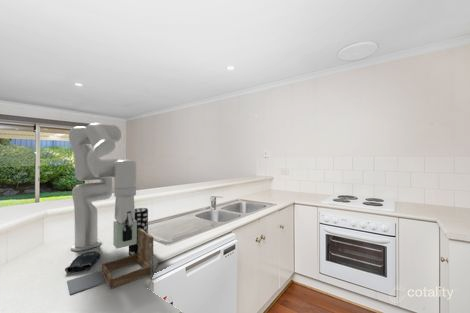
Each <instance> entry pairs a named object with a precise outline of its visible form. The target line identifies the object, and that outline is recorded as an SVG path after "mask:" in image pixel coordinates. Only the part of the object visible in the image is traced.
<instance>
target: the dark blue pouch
mask: <svg viewBox="0 0 470 313" xmlns="http://www.w3.org/2000/svg"><path fill="white" fill-rule="evenodd" d="M101 255H102V253H101V252H100V251H97V250H90V251H86V252H83V253H80V254H79V255H77V256H76V257H75V258H74V259H73V260H72V262H71V263H70V265H68V266H67V267H65V269H64V271H65V273H66V274H67V275H68V274H70V273H79V272H83V271H90V270H91V268H92V267H93V265H94V264H95V263H96V262H97V261H98V260H99V259H101ZM85 266H87V267H88V268H86V267H85ZM75 267H76V268H78V270H74V268H75ZM83 267H85V268H83ZM73 270H74V271H73Z"/></svg>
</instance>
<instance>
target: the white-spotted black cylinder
mask: <svg viewBox="0 0 470 313" xmlns="http://www.w3.org/2000/svg"><path fill="white" fill-rule="evenodd" d="M134 219H135V220H136V221H137V244H134V245H130V246H128V256H131V255H134V254H138V228H141V229H143V230H144V231H146V232H147V233H148V234H149V209H148V208H146V207H138V208H137V207H135V218H134Z"/></svg>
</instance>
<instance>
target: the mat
mask: <svg viewBox="0 0 470 313" xmlns="http://www.w3.org/2000/svg"><path fill="white" fill-rule="evenodd" d="M66 283H67V289H68V293H69V296H72V295H74V294H77V293H81V292H84V291H86V290H89V289H92V288H94V287H95V288H96V287H98V286H100V285H104V284H106V280H105V279H104V276H103V275H102V272H101V271H100V270H97V271H94V272H91V273H88V274H85V275H81V276H79V277H75V278H72V279H69V280H67V281H66Z"/></svg>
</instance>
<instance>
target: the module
mask: <svg viewBox="0 0 470 313" xmlns="http://www.w3.org/2000/svg"><path fill="white" fill-rule="evenodd" d="M125 222H128V220H127V221H125ZM126 225H128V224H126ZM123 231H124V229H123V224H120V223H119V222H118V221H117V220H114V221H113V237H112V238H113V239H112V240H113V246H114V247H115V248H116V250H118V249H122V248H125V247H129V246H130V245H134V244H137V221H136V220H135V219H134V221H133V225H132V240H129V241H125V242H123Z"/></svg>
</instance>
